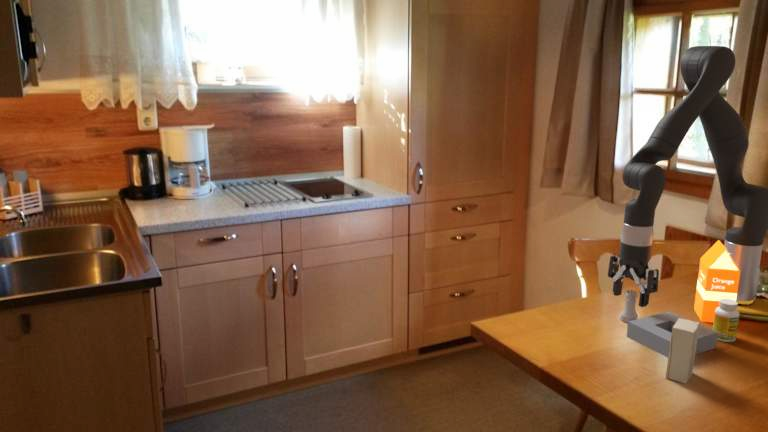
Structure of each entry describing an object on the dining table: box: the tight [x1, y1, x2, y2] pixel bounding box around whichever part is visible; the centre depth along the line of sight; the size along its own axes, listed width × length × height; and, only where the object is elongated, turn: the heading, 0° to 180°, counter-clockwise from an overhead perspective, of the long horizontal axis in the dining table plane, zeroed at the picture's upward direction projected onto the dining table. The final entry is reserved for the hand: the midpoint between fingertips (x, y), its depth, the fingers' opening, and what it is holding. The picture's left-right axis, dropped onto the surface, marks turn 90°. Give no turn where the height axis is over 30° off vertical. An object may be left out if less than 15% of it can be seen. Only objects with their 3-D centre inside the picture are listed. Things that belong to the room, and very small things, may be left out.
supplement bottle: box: [711, 299, 740, 343], centre depth 154 cm, size 5×5×10 cm
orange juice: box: [693, 239, 740, 323], centre depth 166 cm, size 8×9×20 cm
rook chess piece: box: [619, 289, 639, 324], centre depth 165 cm, size 4×4×8 cm
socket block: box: [626, 310, 718, 358], centre depth 153 cm, size 14×14×4 cm
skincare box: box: [665, 317, 701, 385], centre depth 136 cm, size 6×4×12 cm
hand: (629, 300), depth 164 cm, fingers open, 8 cm apart
